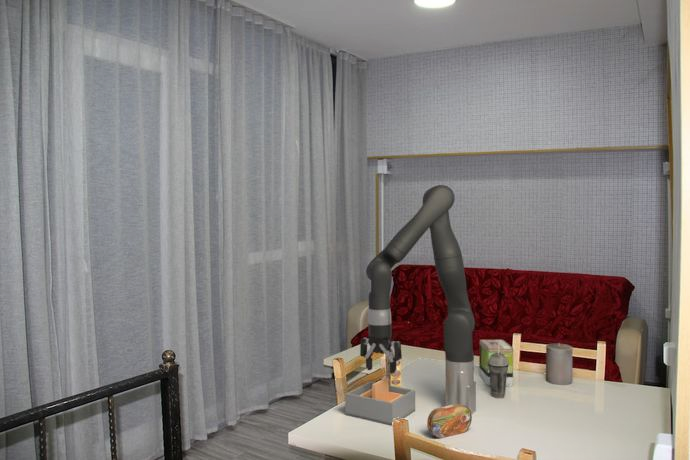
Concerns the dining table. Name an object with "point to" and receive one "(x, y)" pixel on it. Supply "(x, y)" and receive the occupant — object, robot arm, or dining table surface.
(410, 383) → the dining table surface
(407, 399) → the large crate
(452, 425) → the tin
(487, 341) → the tea box
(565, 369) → the pillar candle
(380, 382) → the small basket
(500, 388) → the beverage cup
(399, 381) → the candy box
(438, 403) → the dining table surface
